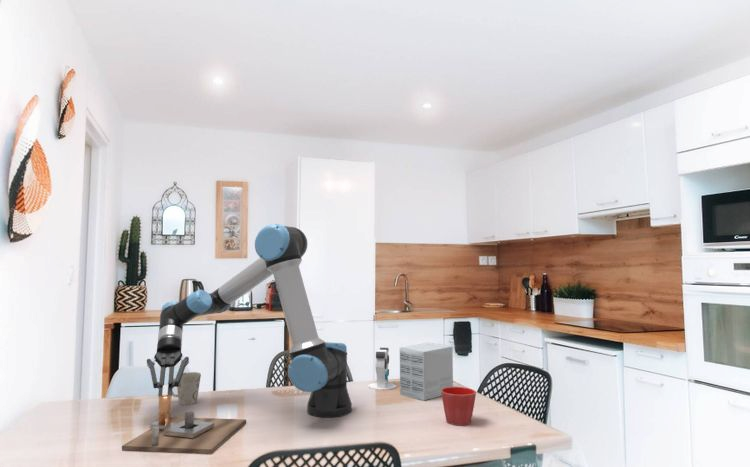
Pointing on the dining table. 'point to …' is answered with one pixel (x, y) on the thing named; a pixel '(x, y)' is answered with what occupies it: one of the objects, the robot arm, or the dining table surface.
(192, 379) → the mug
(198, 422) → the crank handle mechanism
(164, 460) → the dining table surface
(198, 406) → the dining table surface
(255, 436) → the dining table surface
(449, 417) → the flower pot
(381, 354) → the white grey upright piece
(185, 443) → the post board
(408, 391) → the gray vented cabinet
